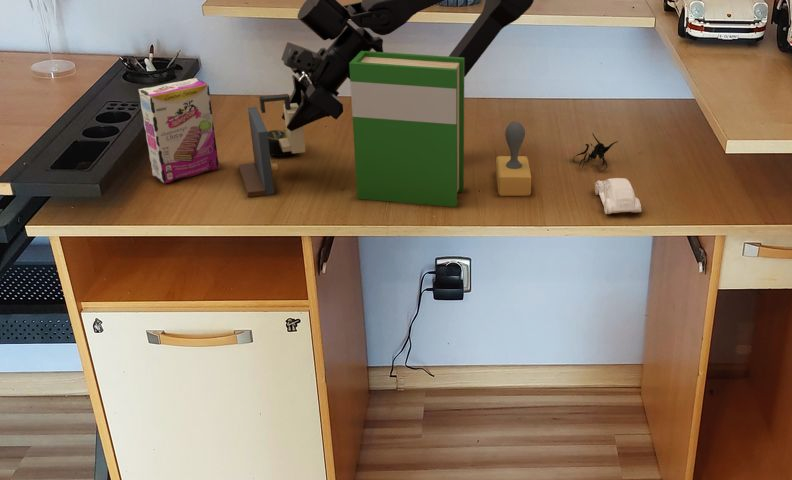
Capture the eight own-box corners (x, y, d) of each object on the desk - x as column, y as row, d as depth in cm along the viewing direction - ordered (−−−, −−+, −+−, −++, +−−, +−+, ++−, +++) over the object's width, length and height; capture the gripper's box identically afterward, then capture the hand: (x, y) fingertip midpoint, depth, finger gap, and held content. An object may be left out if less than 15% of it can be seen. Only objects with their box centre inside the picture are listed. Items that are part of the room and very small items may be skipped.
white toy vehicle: (642, 217, 155) (645, 192, 153) (607, 219, 154) (609, 193, 152) (623, 188, 165) (625, 165, 163) (590, 190, 164) (592, 166, 162)
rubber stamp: (530, 196, 162) (533, 132, 155) (498, 195, 161) (500, 131, 155) (526, 174, 170) (529, 112, 164) (495, 173, 170) (497, 112, 163)
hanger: (300, 142, 166) (295, 89, 161) (305, 152, 162) (300, 98, 157) (264, 146, 164) (257, 93, 159) (268, 156, 160) (261, 102, 155)
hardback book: (463, 189, 163) (464, 57, 151) (456, 207, 157) (456, 70, 144) (368, 182, 165) (361, 50, 153) (357, 198, 159) (349, 63, 146)
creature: (597, 180, 171) (622, 160, 175) (595, 156, 168) (621, 136, 172) (565, 168, 176) (590, 149, 180) (563, 144, 172) (589, 126, 176)
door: (269, 166, 170) (263, 106, 164) (281, 193, 160) (274, 130, 154) (238, 169, 168) (230, 109, 162) (248, 197, 158) (240, 134, 152)
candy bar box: (165, 185, 161) (149, 96, 153) (152, 176, 164) (135, 88, 156) (221, 169, 168) (209, 82, 160) (208, 161, 171) (195, 76, 163)
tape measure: (300, 157, 174) (299, 139, 172) (264, 160, 172) (262, 142, 170) (296, 144, 180) (294, 126, 178) (261, 147, 178) (259, 129, 176)
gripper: (297, 13, 161) (242, 80, 163) (318, 41, 146) (257, 114, 148) (344, 53, 168) (290, 117, 170) (368, 84, 153) (309, 153, 155)
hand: (286, 124), depth 161 cm, fingers closed on hanger, 5 cm apart
